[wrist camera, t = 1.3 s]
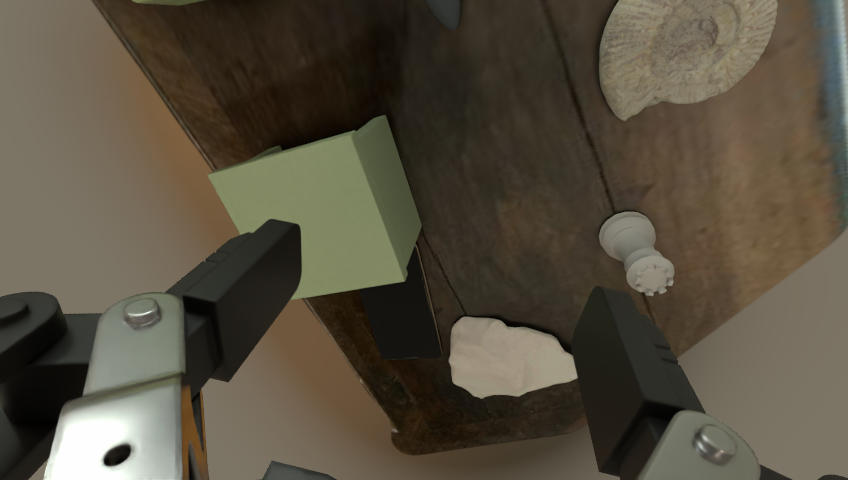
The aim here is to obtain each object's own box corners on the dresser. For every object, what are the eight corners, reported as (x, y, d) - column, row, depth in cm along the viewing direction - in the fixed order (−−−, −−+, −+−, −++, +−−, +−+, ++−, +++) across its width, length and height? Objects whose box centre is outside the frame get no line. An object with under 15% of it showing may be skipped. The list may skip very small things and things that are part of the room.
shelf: (267, 143, 37) (206, 174, 30) (383, 108, 34) (350, 134, 26) (317, 251, 42) (277, 302, 35) (423, 230, 39) (405, 281, 31)
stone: (444, 339, 40) (602, 344, 37) (447, 312, 43) (592, 315, 41) (450, 410, 45) (590, 418, 42) (452, 381, 48) (581, 387, 46)
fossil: (646, 155, 29) (564, 41, 27) (635, 145, 32) (561, 43, 30) (828, 36, 24) (741, -112, 22) (792, 39, 27) (713, -89, 25)
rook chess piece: (640, 200, 34) (677, 245, 27) (658, 240, 36) (697, 292, 29) (589, 222, 36) (611, 270, 29) (608, 260, 37) (634, 314, 30)
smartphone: (415, 245, 38) (442, 359, 45) (417, 239, 39) (443, 352, 46) (345, 252, 40) (381, 361, 47) (349, 246, 41) (383, 354, 48)
